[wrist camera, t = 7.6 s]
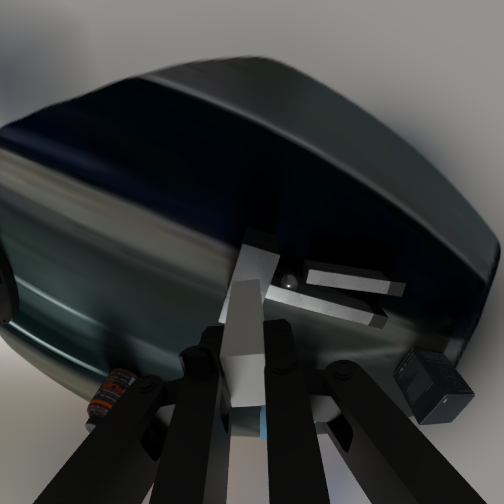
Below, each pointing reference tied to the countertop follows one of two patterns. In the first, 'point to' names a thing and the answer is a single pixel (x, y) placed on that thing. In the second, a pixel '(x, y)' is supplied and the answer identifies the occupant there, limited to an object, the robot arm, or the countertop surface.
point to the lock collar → (254, 263)
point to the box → (432, 387)
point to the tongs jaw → (352, 278)
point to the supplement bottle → (108, 395)
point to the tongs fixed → (323, 300)
